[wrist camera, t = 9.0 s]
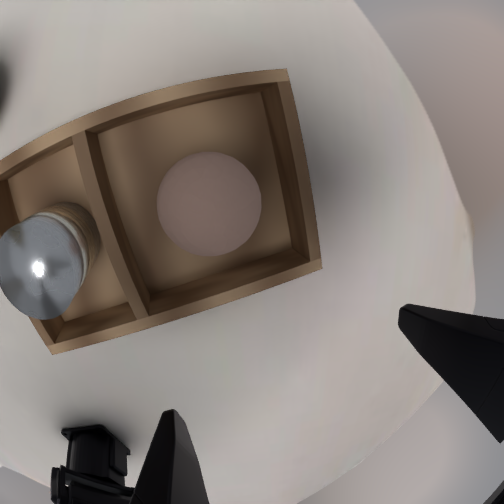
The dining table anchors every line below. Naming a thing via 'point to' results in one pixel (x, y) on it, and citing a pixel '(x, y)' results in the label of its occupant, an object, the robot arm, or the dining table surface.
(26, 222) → the tin
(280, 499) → the dining table surface
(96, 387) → the dining table surface
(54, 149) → the crate
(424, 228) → the dining table surface
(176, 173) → the egg
